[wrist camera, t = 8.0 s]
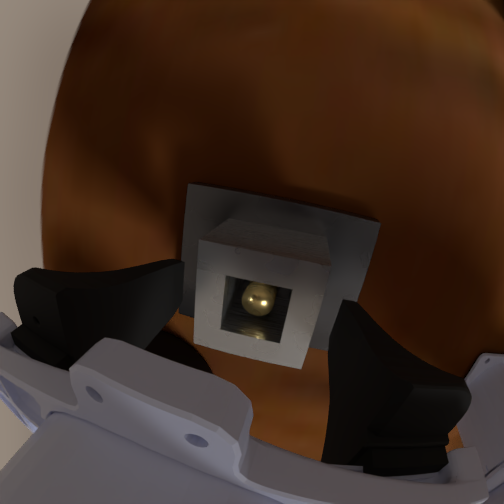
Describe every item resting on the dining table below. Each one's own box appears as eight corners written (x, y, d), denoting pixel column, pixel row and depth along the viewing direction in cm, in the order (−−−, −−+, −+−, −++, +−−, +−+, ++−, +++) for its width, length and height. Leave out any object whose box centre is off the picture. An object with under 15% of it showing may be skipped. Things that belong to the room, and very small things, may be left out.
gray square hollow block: (326, 236, 13) (331, 266, 10) (305, 321, 15) (301, 369, 11) (229, 218, 14) (198, 239, 10) (220, 303, 16) (193, 343, 12)
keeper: (376, 219, 14) (397, 239, 10) (336, 342, 16) (338, 387, 13) (195, 181, 15) (158, 190, 11) (185, 305, 18) (156, 339, 14)
